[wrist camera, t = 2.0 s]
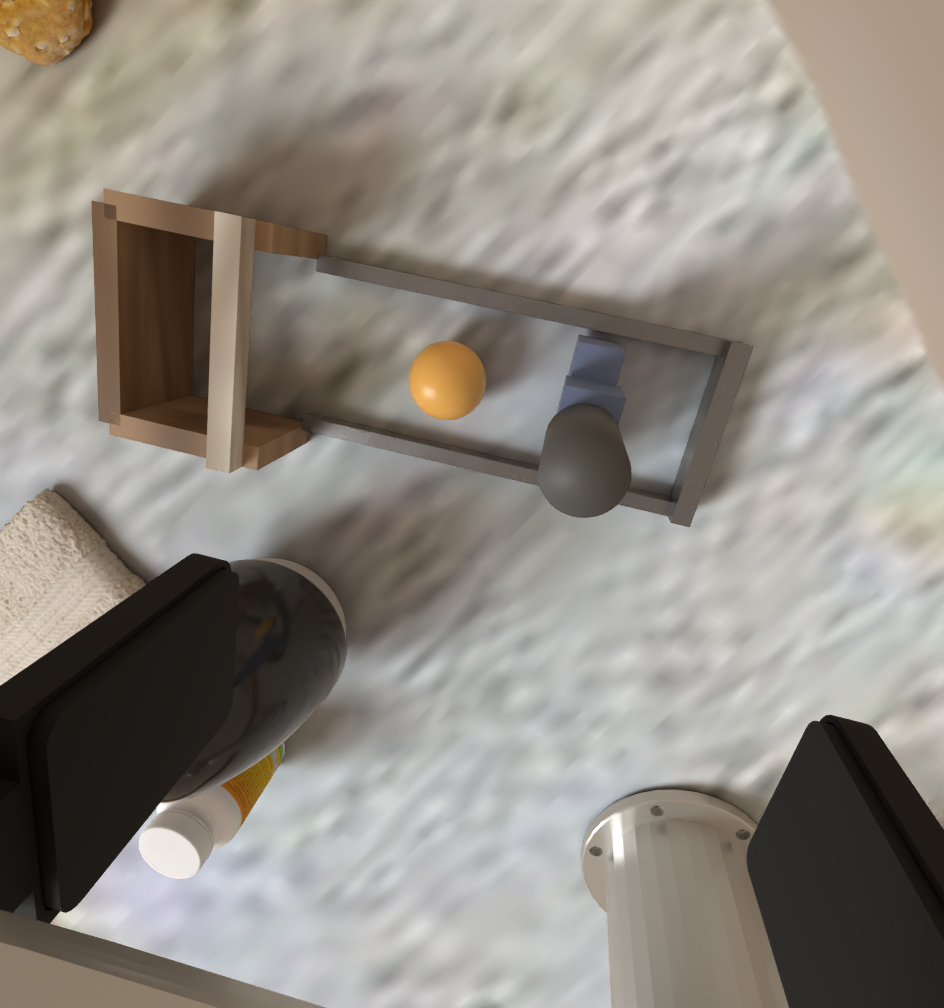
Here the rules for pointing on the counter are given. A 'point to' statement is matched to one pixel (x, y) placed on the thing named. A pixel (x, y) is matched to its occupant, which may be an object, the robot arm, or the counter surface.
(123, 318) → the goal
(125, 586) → the washcloth
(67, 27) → the bagel
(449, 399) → the ball
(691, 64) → the counter surface
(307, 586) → the pump dispenser
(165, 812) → the supplement bottle
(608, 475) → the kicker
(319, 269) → the track
